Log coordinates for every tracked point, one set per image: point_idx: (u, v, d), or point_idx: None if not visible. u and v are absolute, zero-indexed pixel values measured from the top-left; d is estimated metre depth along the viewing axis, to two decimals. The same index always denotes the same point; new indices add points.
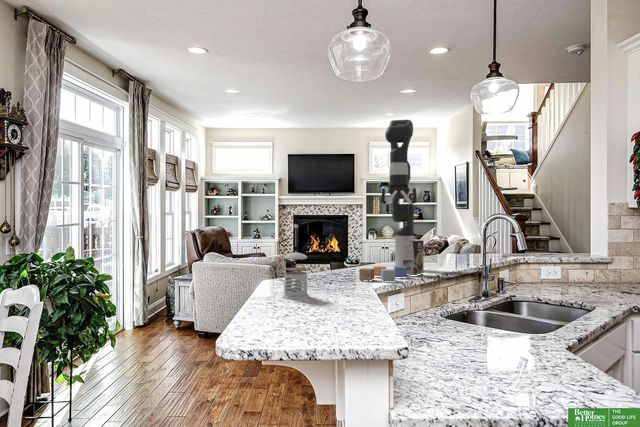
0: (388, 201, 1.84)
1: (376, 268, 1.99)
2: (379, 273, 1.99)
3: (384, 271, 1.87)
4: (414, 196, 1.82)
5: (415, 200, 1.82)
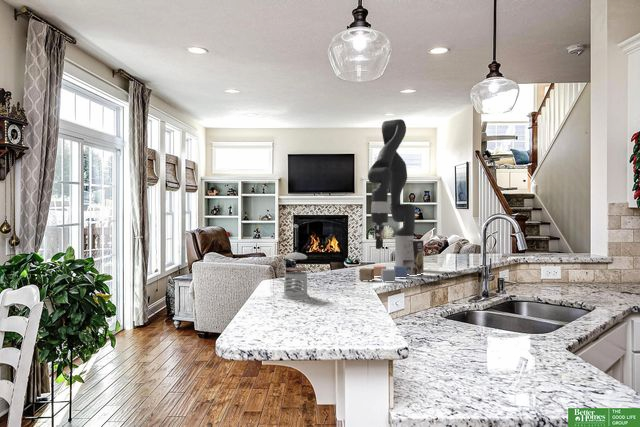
0: (381, 237, 1.97)
1: (376, 268, 1.99)
2: (379, 273, 1.99)
3: (384, 271, 1.87)
4: None
5: (383, 235, 2.07)
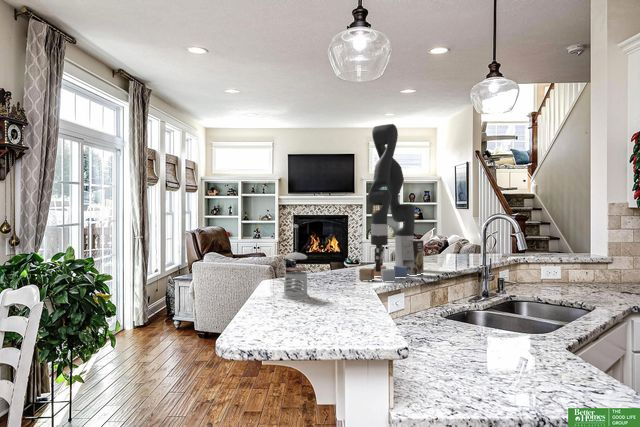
0: None
1: None
2: (379, 273, 1.99)
3: (384, 271, 1.87)
4: None
5: (383, 257, 2.07)
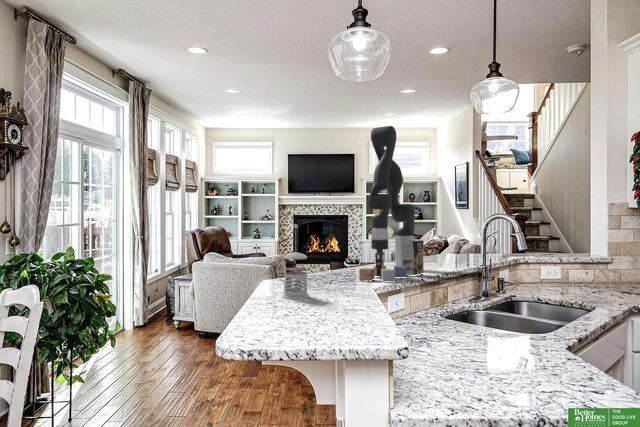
0: None
1: None
2: None
3: (384, 271, 1.87)
4: None
5: (383, 263, 2.06)
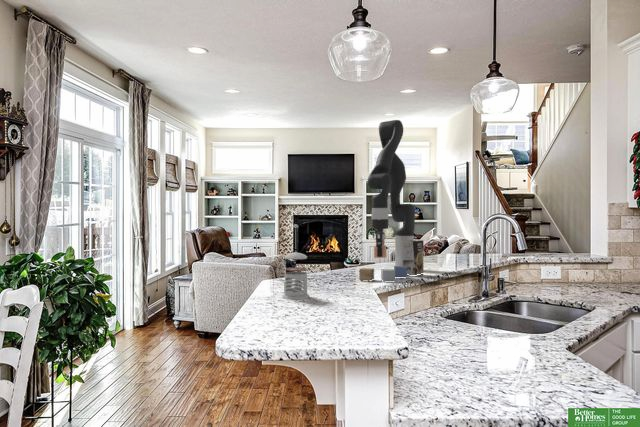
0: (382, 245, 1.98)
1: (376, 248, 1.99)
2: None
3: (384, 271, 1.87)
4: None
5: None
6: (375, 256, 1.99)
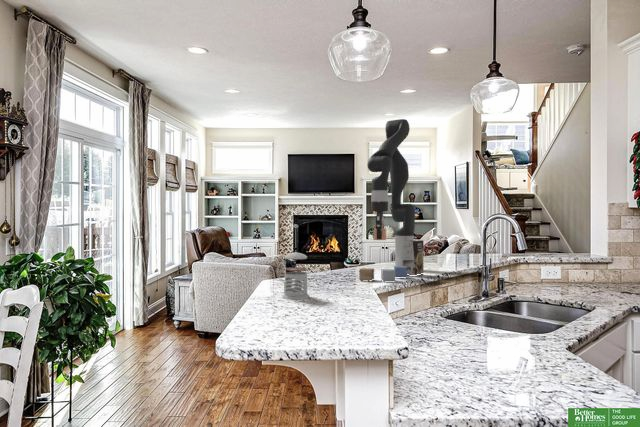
0: None
1: None
2: None
3: (384, 271, 1.87)
4: None
5: (383, 226, 2.06)
6: (374, 238, 1.99)
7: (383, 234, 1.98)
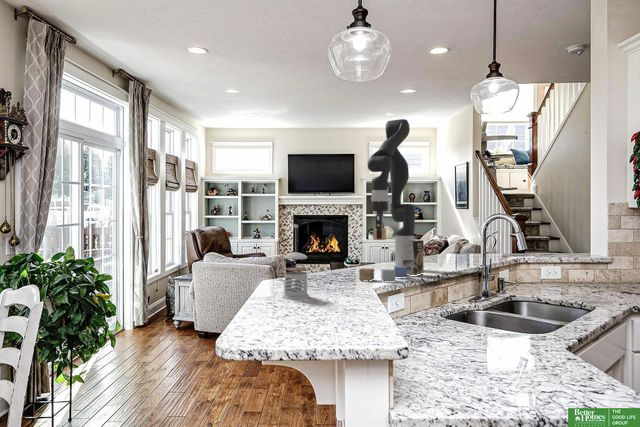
0: (381, 227, 1.98)
1: (376, 230, 1.99)
2: None
3: (384, 271, 1.87)
4: None
5: (383, 226, 2.06)
6: (374, 238, 1.99)
7: (383, 234, 1.98)
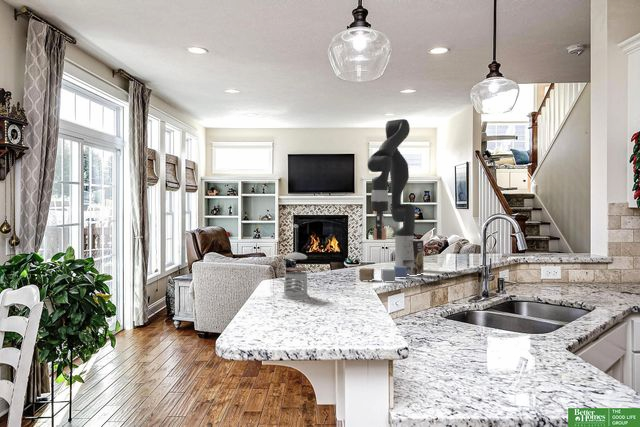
0: (381, 227, 1.98)
1: (376, 230, 1.99)
2: None
3: (384, 271, 1.87)
4: None
5: (383, 226, 2.06)
6: (374, 238, 1.99)
7: (383, 234, 1.98)
